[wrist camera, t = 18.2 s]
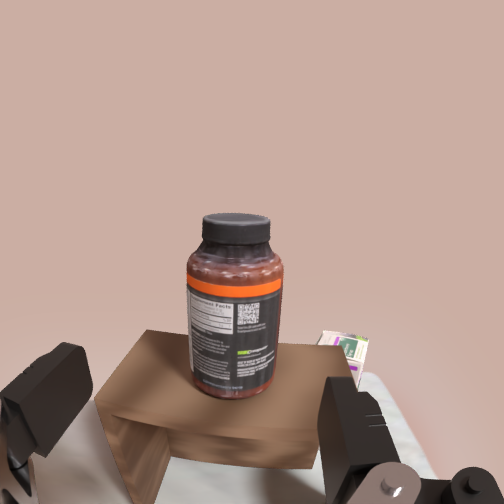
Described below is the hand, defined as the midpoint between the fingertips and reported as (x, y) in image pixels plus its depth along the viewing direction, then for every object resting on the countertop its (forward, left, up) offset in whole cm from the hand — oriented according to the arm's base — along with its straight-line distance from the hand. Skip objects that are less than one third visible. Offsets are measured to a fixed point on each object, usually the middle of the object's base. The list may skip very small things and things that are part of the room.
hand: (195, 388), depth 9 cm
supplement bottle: (0, +11, -8) cm, 13 cm away
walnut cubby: (+1, +11, -25) cm, 27 cm away
